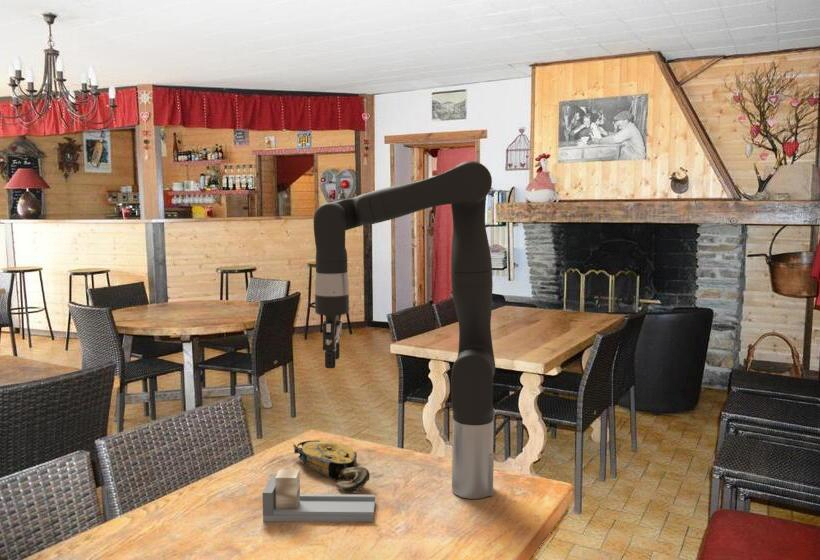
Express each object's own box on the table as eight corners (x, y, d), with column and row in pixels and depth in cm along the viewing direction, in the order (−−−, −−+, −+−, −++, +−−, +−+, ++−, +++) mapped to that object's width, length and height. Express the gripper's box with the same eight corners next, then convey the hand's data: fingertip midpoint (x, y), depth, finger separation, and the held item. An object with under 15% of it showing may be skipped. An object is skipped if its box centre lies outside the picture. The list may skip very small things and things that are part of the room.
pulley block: (331, 474, 151) (291, 432, 177) (328, 499, 151) (288, 454, 178) (388, 472, 158) (341, 432, 184) (385, 497, 158) (338, 453, 184)
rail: (375, 502, 151) (375, 476, 150) (372, 521, 142) (372, 493, 142) (271, 501, 151) (271, 475, 151) (263, 521, 142) (262, 492, 142)
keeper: (299, 500, 149) (299, 469, 148) (296, 509, 144) (296, 477, 144) (279, 500, 149) (279, 469, 148) (275, 509, 144) (275, 477, 144)
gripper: (345, 297, 145) (346, 371, 147) (351, 288, 159) (351, 356, 161) (310, 297, 145) (311, 371, 147) (319, 288, 159) (320, 355, 161)
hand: (332, 363), depth 154 cm, fingers open, 8 cm apart
